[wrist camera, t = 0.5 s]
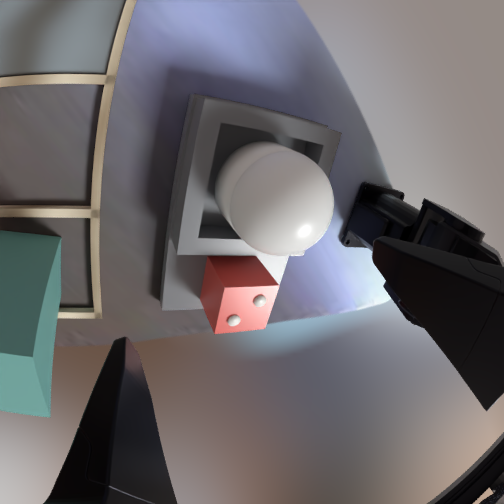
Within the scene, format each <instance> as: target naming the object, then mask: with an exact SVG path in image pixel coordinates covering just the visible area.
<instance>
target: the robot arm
mask: <svg viewBox="0 0 504 504" xmlns="http://www.w3.org/2000/svg"><path fill="white" fill-rule="evenodd" d="M365 188H366V189H365ZM403 199H404V193H403V192H401V191H398V190H395V189H391V188H387V187H383V186H379V185H376V184H372V183H368V182H364V183H362V184H361V187H360V190H359V193H358V196H357V199H356V202H355V204H354V207H353V210H352V213H351V216H350V219H349V222H348V224H347V227H346V230H345V233H344V235H343V238H342V241H341V243H342V245H344V246H345V247H364V248H369V249H370V250H371V251H373V253H372V260H373V263H374V264H375V266H376V267H377V269H378V270H379V271H380V273H381V274H382V276H383V277H384V278H385V280H386V282H385V284H384V286H383V287H384V288H385V290H386V291H387V292H388V294H389V296H390V297H391V298H392V300H393V301H394V302H395V304H396V305H397V306H398V308H399V309H400V311H401V312H402V313H403V315H404V316H405V318H406V319H407V320H408V321H410V322H411V323H412V324H414V325H418V326H420V327H422V328H425V330H426V331H427V332H428V334H429V335H430V336H431V337H432V338H433V340H434V341H435V342H436V344H437V345H438V346H439V347H440V349H441V350H442V351H443V353H444V354H445V355H446V357H447V358H448V359H449V360H450V362H451V363H452V364H453V365H454V367H455V368H456V370H457V371H458V373H459V374H460V375H461V377H462V378H463V379H464V381H465V382H466V384H467V385H468V386H469V388H470V389H471V390H472V392H473V393H474V395H475V396H476V398H477V399H478V400H479V402H480V403H481V405H482V406H483V408H484V409H485V410H486V411H488V410H489V409H490V407H491V406H492V405H493V404H494V403H495V402H496V401H497V400H498V398H499V397H500V396H501V395H502V394H503V393H504V263H503V261H502V258H501V256H500V254H499V253H498V251H497V250H495V249H494V248H493V247H491V246H490V245H488V244H486V243H485V242H484V241H482V239H483V237H484V235H485V233H484V232H483V231H481V230H480V229H478V228H477V227H476V226H474V225H473V224H471V223H470V222H469V221H467V220H466V219H464V218H462V217H461V216H459V215H457V214H456V213H454V212H452V211H450V210H449V209H447V208H445V207H443V206H440V205H438V204H436V203H434V202H432V201H429V200H427V199H425V198H424V200H423V202H422V204H423V205H422V207H421V210H418V209H416V208H415V207H413V206H411V205H409V204H407V203H406V202H404V201H403ZM346 241H347V242H346ZM489 487H490V489H491V490H492V491H493V494H492V495H490V496H489V497H487V498H486V499H484V500H483V501H481V502H480V503H479V504H504V432H503V434H502V435H501V436H500V437H499V438H498V439H497V440H496V442H494V444H493V445H492V446H491V447H490V448H489V449H488V450H487V451H486V452H485V453H484V454H483V455H482V456H481V457H480V458H479V459H478V460H477V461H476V462H475V463H474V464H473V465H472V466H471V467H470V468H469V469H468V470H467V471H466V472H465V473H464V474H463V475H461V476H460V477H459V478H458V479H457V480H456V481H455V482H453V483H452V484H451V485H450V486H449V487H448V488H446V489H445V490H444V491H443V492H441V493H440V494H439V495H438V496H436V498H434V499H433V500H431V501H430V502H429V503H427V504H473V502H475V501H476V500H477V498H479V497H480V496H481V495H482V494H483V493H484V492H485V491H486V490H487V489H488V488H489ZM43 504H177V501H176V497H175V494H174V491H173V487H172V484H171V480H170V477H169V473H168V469H167V466H166V461H165V457H164V453H163V450H162V445H161V441H160V437H159V432H158V427H157V423H156V418H155V413H154V408H153V403H152V398H151V394H150V391H149V388H148V384H147V381H146V378H145V374H144V370H143V367H142V363H141V359H140V356H139V354H138V352H137V351H136V349H135V348H134V346H133V345H132V343H131V342H130V340H129V339H128V338H127V337H122V338H119V339H116V340H115V341H114V342H113V344H112V347H111V349H110V351H109V353H108V356H107V358H106V360H105V362H104V365H103V367H102V369H101V372H100V374H99V376H98V379H97V381H96V384H95V386H94V388H93V391H92V393H91V396H90V398H89V401H88V403H87V406H86V408H85V411H84V413H83V416H82V419H81V421H80V424H79V428H78V429H77V432H76V435H75V437H74V440H73V443H72V445H71V448H70V450H69V453H68V455H67V457H66V460H65V462H64V464H63V466H62V469H61V471H60V473H59V476H58V478H57V480H56V482H55V485H54V487H53V489H52V492H51V494H50V496H49V497H48V499H47V500H46V501H45V502H44V503H43Z"/></svg>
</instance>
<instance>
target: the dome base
mask: <svg viewBox="0 0 504 504" xmlns="http://www.w3.org/2000/svg"><path fill="white" fill-rule="evenodd" d="M327 127H328V126H326V125H323V124H320V123H317V122H313V121H310V120H307V119H303V118H300V117H296V116H293V115H289V114H285V113H282V112H278V111H274V110H270V109H266V108H262V107H258V106H253V105H249V104H245V103H240V102H235V101H230V100H225V99H220V98H215V97H209V96H204V95H198V94H190V98H189V102H188V107H187V111H186V116H185V121H184V126H183V131H182V136H181V142H180V147H179V152H178V158H177V164H176V170H175V176H174V182H173V189H172V195H171V202H170V209H169V217H168V224H167V232H166V241H165V250H164V259H163V269H162V280H161V291H160V304H161V308H162V311H165V310H190V309H204V311H205V313H206V315H207V318H208V320H209V322H210V325H211V327H212V329H213V332H214V334H219V333H230V332H240V331H249V330H259V329H265V327H266V324H267V321H268V318H269V315H270V312H271V309H272V307H273V304H274V301H275V298H276V295H277V292H278V289H279V286H280V282H281V279H282V276H283V273H284V270H285V267H286V263H287V260H288V257H289V256H303V255H304V252H305V250H304V251H302V252H300V253H297V254H293V255H288V256H274V255H269V254H265V253H262V252H260V251H257V250H255V249H254V248H252V247H251V246H249V245H248V244H247V243H245V242H244V241H243V240H242V239H241V238H240V236H239V235H238V234H237V233H236V232H235V230H234V229H233V228H232V226H231V225H230V224H229V223H228V221H227V220H226V219H225V217H224V216H223V215H222V213H221V212H220V210H219V208H218V206H217V203H216V200H215V182H216V178H217V175H218V172H219V170H220V168H221V166H222V164H223V163H224V162H225V160H226V159H227V158H228V157H229V156H230V155H231V154H232V153H233V152H234V151H235V150H237V149H238V148H240V147H241V146H244V145H246V144H248V143H251V142H256V141H271V142H275V143H278V144H280V145H282V146H285V147H287V148H289V149H292V150H294V151H296V152H298V153H301V154H303V155H305V156H307V157H308V158H310V159H311V160H313V161H314V162H315V163H316V164H317V165H318V166H319V167H320V168H321V169H322V170H323V171H324V173H325V174H326V176H327V178H329V175H330V171H331V168H332V165H333V161H334V158H335V155H336V151H337V148H338V144H339V141H340V137H341V134H342V133H341V132H337V131H334V130H331V129H328V128H327Z"/></svg>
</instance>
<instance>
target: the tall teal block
mask: <svg viewBox="0 0 504 504" xmlns="http://www.w3.org/2000/svg"><path fill="white" fill-rule="evenodd" d="M60 299H61V237H58V236H48V235H39V234H30V233H21V232H12V231H2V230H1V231H0V410H1V411H6V412H13V413H19V414H26V415H34V416H43V417H50V405H51V404H50V402H51V401H50V400H51V377H52V361H53V350H54V341H55V333H56V325H57V318H58V311H59V305H60Z"/></svg>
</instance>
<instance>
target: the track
mask: <svg viewBox="0 0 504 504" xmlns="http://www.w3.org/2000/svg"><path fill="white" fill-rule="evenodd" d="M125 1H126V3H125ZM136 1H137V0H0V77H2V76H12V75H24V74H42V73H97V74H106V70H107V66H108V70H107V74H106V75H95V74H44V75H25V76H12V77H2V78H0V87H7V86H19V85H36V84H99V85H104V89H103V95H102V101H101V107H100V113H99V120H98V127H97V135H96V143H95V153H94V163H93V176H92V193H91V206H57V205H1V206H0V217H66V218H91V272H92V289H93V302H94V308H59V311H58V318H102V307H101V291H100V265H99V224H100V198H101V182H102V170H103V159H104V150H105V141H106V133H107V126H108V119H109V113H110V107H111V101H112V95H113V90H114V85H115V80H116V75H117V71H118V66H119V62H120V57H121V53H122V49H123V45H124V41H125V38H126V34H127V30H128V27H129V23H130V20H131V17H132V13H133V10H134V7H135V4H136ZM124 4H125V6H124ZM123 7H124V9H123ZM122 10H123V12H122ZM121 13H122V16H121ZM120 16H121V19H120ZM119 20H120V22H119ZM118 23H119V26H118ZM117 26H118V29H117ZM116 30H117V33H116ZM115 33H116V37H115ZM114 37H115V40H114ZM113 41H114V44H113ZM112 45H113V48H112ZM111 49H112V52H111ZM110 53H111V56H110ZM109 57H110V61H109ZM108 61H109V65H108Z"/></svg>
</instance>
